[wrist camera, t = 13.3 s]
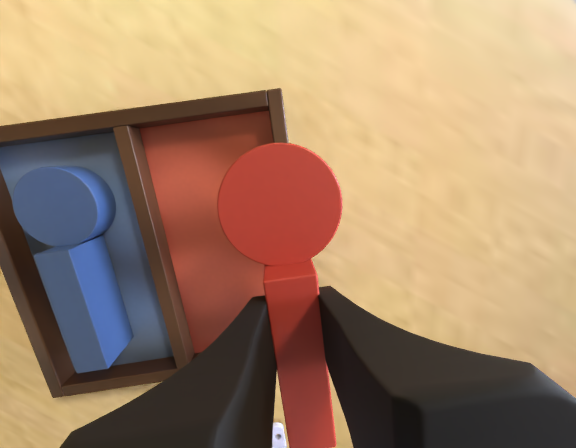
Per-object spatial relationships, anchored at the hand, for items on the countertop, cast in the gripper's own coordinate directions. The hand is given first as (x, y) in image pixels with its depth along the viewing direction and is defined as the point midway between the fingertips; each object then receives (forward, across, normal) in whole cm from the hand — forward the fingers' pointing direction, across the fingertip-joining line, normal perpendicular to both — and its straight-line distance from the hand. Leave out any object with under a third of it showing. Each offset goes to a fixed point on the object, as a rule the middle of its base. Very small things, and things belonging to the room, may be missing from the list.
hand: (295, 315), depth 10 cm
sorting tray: (+8, +8, -1) cm, 11 cm away
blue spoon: (+8, +12, -2) cm, 14 cm away
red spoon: (+2, 0, -1) cm, 2 cm away
